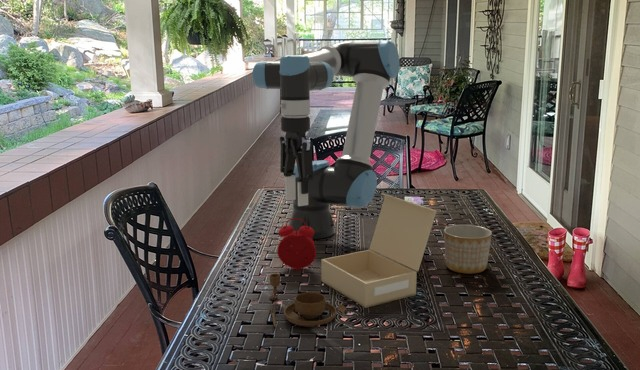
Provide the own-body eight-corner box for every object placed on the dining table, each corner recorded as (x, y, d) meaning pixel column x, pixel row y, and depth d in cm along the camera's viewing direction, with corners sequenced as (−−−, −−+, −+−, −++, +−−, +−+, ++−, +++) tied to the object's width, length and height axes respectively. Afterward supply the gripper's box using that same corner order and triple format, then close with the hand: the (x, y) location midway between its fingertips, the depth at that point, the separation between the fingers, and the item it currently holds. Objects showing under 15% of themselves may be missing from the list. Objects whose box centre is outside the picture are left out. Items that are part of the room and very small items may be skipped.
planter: (438, 272, 172) (440, 235, 170) (446, 258, 184) (447, 222, 181) (487, 278, 168) (489, 240, 166) (492, 262, 179) (493, 227, 177)
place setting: (272, 331, 139) (272, 306, 138) (266, 296, 158) (266, 273, 157) (352, 326, 141) (352, 301, 140) (336, 292, 161) (336, 269, 160)
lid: (381, 192, 171) (387, 194, 172) (365, 248, 172) (371, 249, 173) (430, 209, 154) (436, 210, 155) (412, 270, 155) (418, 271, 156)
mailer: (321, 281, 166) (321, 259, 165) (368, 270, 174) (369, 249, 173) (365, 308, 149) (366, 283, 148) (416, 295, 157) (416, 271, 156)
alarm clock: (317, 266, 178) (317, 213, 174) (315, 274, 172) (314, 220, 168) (280, 265, 179) (279, 213, 175) (276, 273, 173) (275, 219, 169)
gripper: (265, 113, 172) (268, 197, 177) (300, 120, 156) (302, 212, 161) (290, 111, 176) (292, 193, 181) (327, 118, 160) (327, 208, 165)
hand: (296, 202), depth 171 cm, fingers open, 6 cm apart
